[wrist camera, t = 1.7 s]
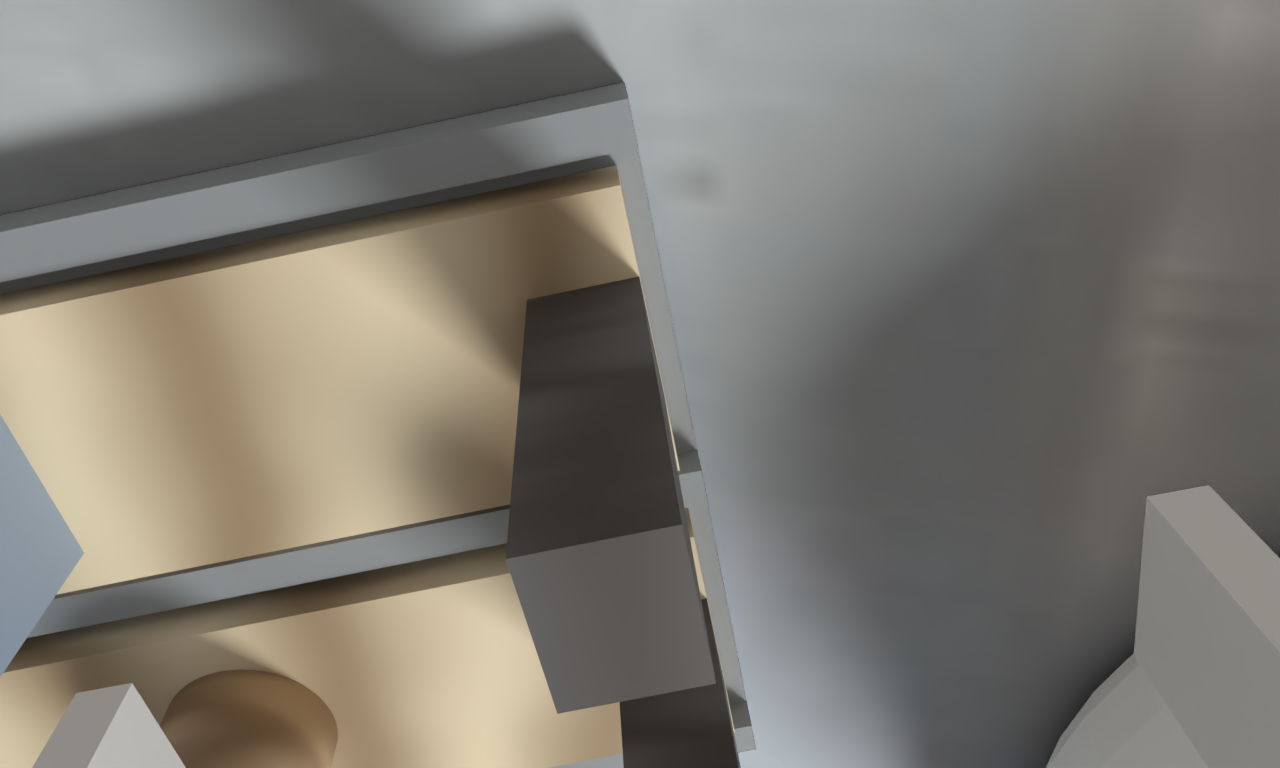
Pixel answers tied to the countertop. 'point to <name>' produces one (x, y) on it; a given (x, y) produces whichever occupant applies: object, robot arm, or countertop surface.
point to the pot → (1125, 728)
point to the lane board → (340, 192)
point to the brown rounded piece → (250, 723)
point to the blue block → (28, 548)
